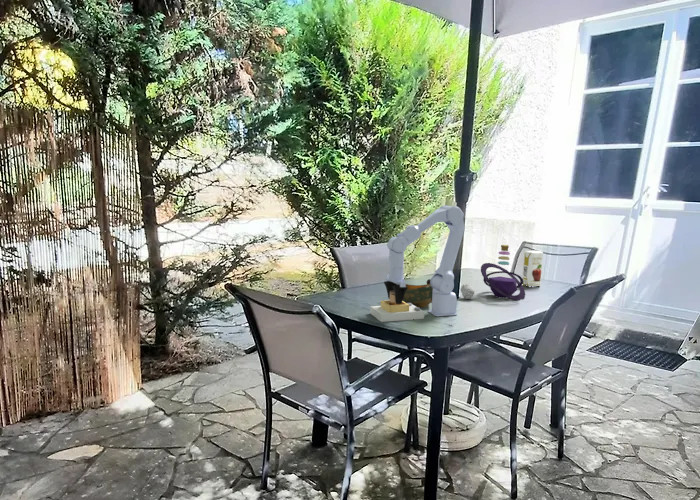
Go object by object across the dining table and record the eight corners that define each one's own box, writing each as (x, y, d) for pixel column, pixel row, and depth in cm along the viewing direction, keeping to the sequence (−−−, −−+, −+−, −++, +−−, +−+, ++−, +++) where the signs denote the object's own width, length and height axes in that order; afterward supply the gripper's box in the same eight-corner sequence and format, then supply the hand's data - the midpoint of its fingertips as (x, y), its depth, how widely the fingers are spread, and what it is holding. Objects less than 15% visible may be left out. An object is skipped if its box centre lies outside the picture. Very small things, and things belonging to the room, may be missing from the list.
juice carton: (519, 285, 245) (522, 250, 242) (533, 284, 247) (535, 250, 245) (529, 288, 238) (531, 252, 235) (542, 287, 240) (545, 252, 238)
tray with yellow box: (410, 310, 189) (411, 297, 188) (424, 318, 177) (424, 305, 176) (370, 313, 183) (370, 300, 182) (381, 321, 172) (381, 307, 171)
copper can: (397, 306, 182) (398, 290, 181) (402, 309, 178) (402, 292, 177) (387, 307, 181) (388, 290, 180) (391, 310, 177) (392, 292, 176)
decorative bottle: (508, 304, 202) (512, 249, 199) (469, 295, 218) (472, 244, 215) (534, 297, 216) (538, 246, 213) (495, 289, 232) (498, 241, 229)
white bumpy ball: (466, 296, 216) (467, 282, 215) (477, 299, 210) (478, 285, 209) (457, 297, 213) (457, 283, 212) (467, 301, 207) (468, 286, 206)
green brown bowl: (416, 311, 187) (417, 287, 186) (389, 301, 204) (390, 279, 203) (440, 308, 193) (441, 285, 192) (413, 298, 211) (413, 277, 209)
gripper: (379, 264, 183) (378, 297, 185) (393, 271, 169) (392, 306, 171) (395, 264, 185) (394, 296, 187) (411, 270, 171) (409, 305, 173)
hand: (394, 301), depth 179 cm, fingers open, 7 cm apart
